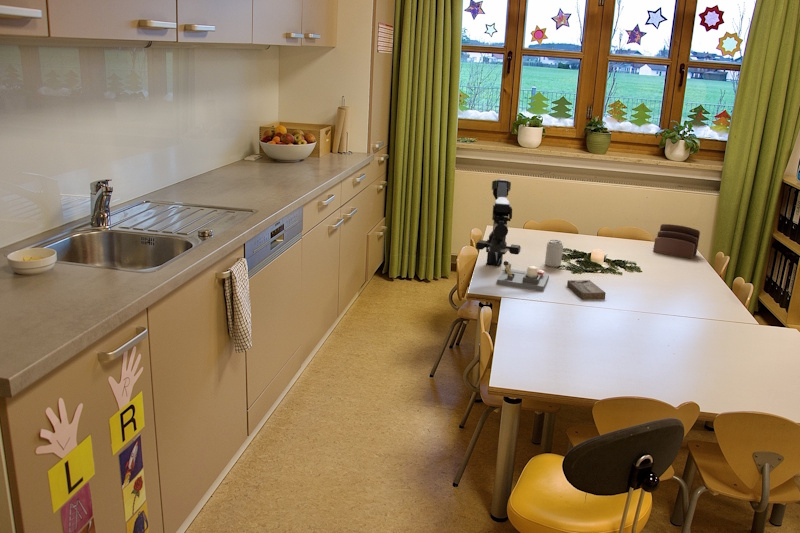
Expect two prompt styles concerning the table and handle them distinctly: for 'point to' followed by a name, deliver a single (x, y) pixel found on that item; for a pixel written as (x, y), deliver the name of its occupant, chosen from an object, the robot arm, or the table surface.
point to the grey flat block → (586, 289)
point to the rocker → (540, 272)
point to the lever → (507, 268)
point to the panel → (522, 280)
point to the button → (532, 272)
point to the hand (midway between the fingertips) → (496, 265)
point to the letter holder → (677, 241)
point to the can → (554, 253)
